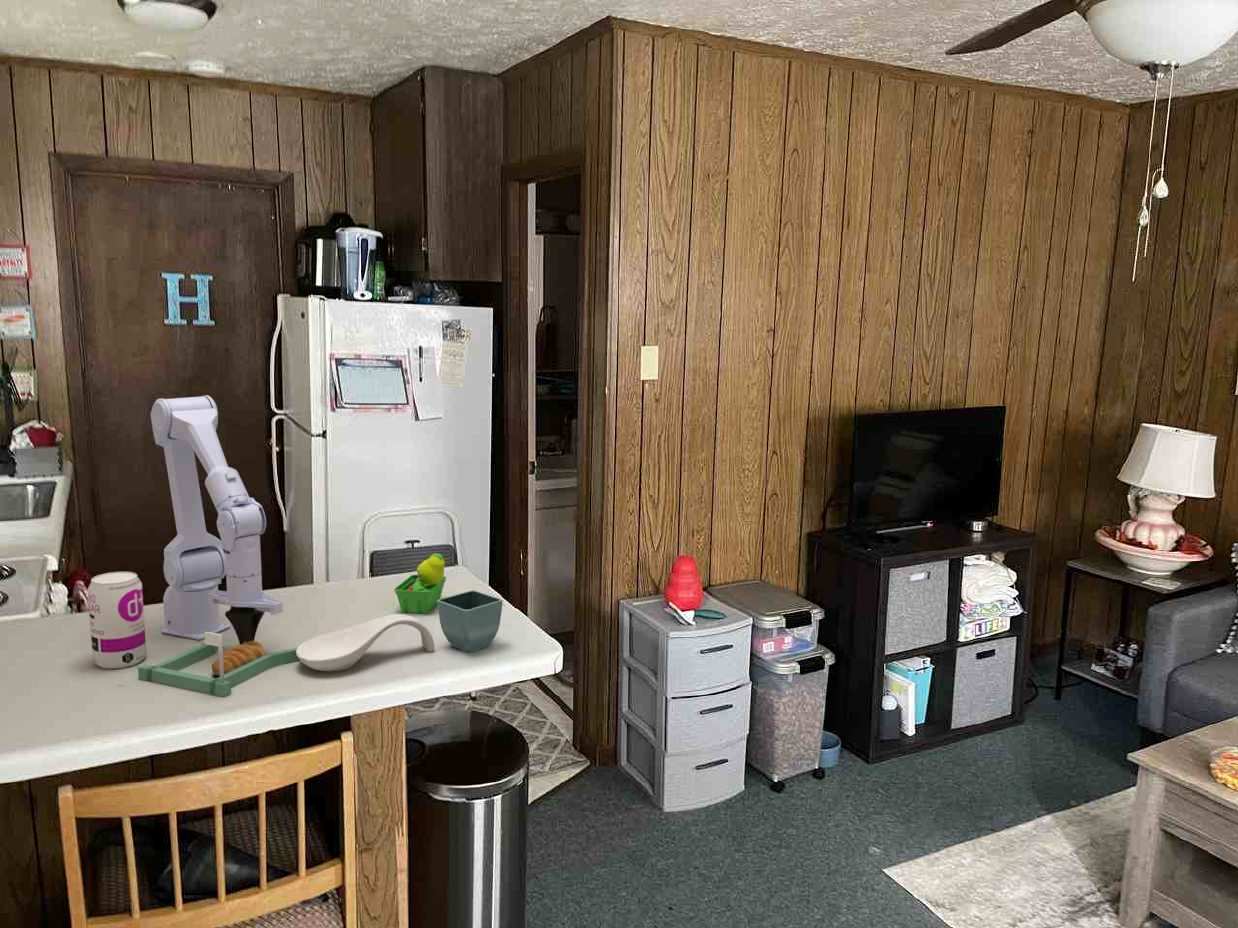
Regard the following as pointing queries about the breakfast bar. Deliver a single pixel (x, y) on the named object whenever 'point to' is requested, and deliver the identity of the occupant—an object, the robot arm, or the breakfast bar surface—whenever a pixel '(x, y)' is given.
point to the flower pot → (470, 619)
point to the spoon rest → (353, 643)
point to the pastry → (239, 656)
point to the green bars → (222, 685)
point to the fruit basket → (422, 586)
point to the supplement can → (117, 620)
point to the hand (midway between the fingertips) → (247, 647)
